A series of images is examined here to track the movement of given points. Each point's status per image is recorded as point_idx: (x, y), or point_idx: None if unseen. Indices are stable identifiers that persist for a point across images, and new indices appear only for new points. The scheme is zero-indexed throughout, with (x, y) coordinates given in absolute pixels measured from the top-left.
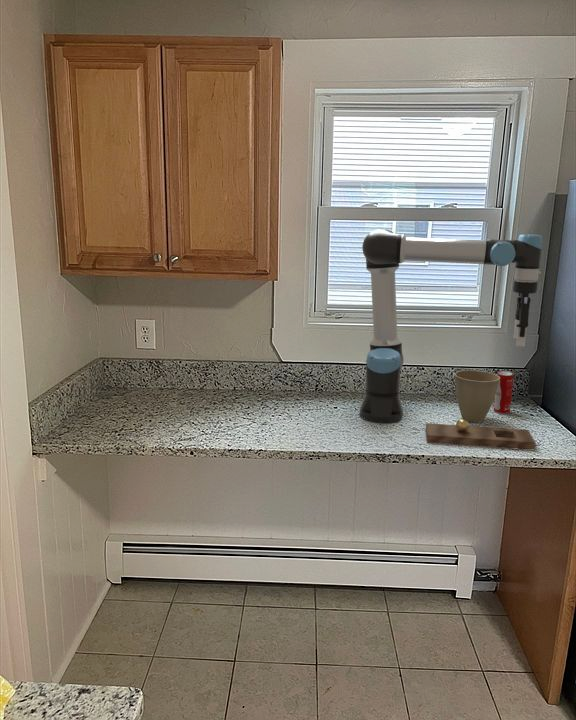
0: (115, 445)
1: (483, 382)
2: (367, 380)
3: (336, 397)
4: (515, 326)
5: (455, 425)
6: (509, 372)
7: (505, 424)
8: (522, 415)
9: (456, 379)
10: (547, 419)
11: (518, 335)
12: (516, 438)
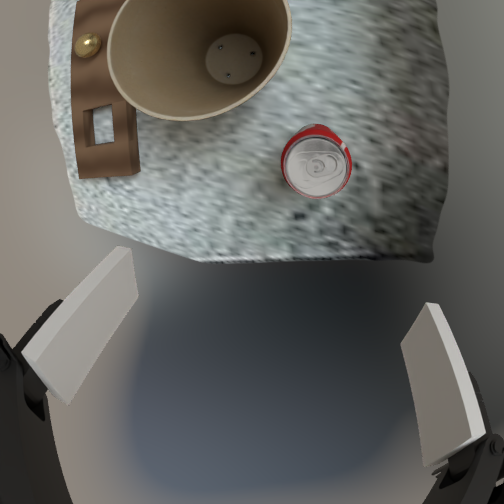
0: None
1: (109, 62)
2: None
3: None
4: (453, 385)
5: None
6: (330, 189)
7: (209, 134)
8: (291, 193)
9: None
10: (269, 243)
11: (70, 302)
12: (85, 147)
